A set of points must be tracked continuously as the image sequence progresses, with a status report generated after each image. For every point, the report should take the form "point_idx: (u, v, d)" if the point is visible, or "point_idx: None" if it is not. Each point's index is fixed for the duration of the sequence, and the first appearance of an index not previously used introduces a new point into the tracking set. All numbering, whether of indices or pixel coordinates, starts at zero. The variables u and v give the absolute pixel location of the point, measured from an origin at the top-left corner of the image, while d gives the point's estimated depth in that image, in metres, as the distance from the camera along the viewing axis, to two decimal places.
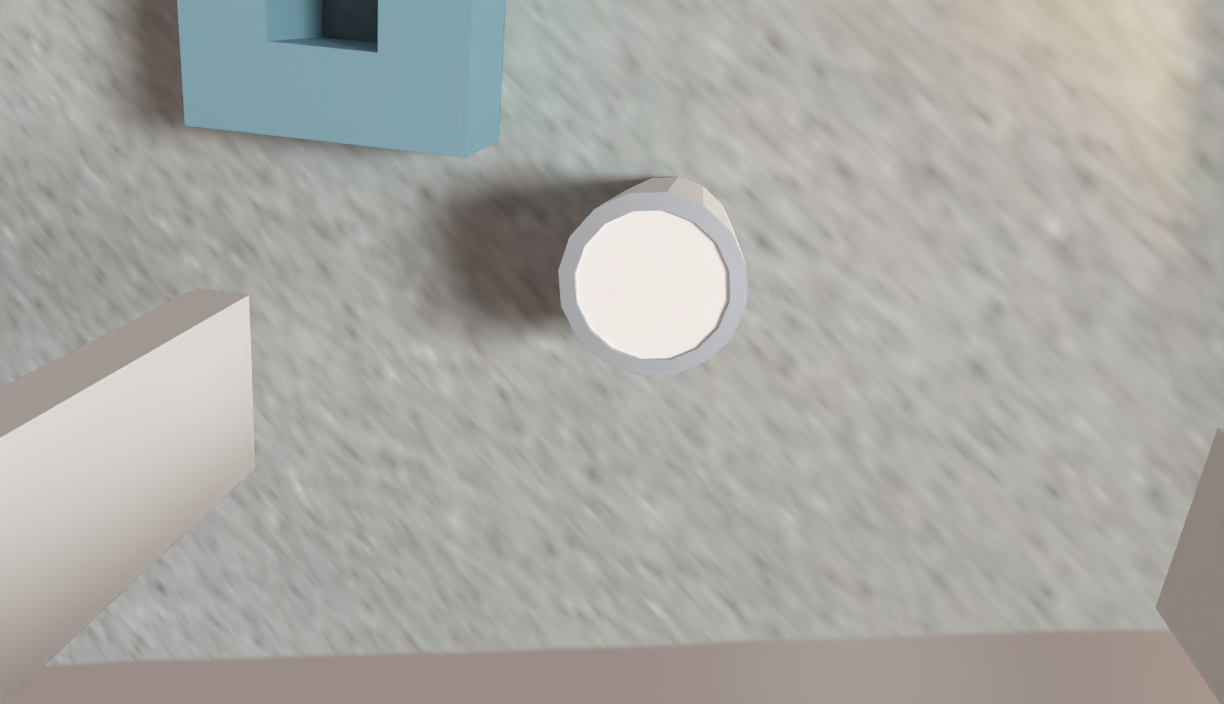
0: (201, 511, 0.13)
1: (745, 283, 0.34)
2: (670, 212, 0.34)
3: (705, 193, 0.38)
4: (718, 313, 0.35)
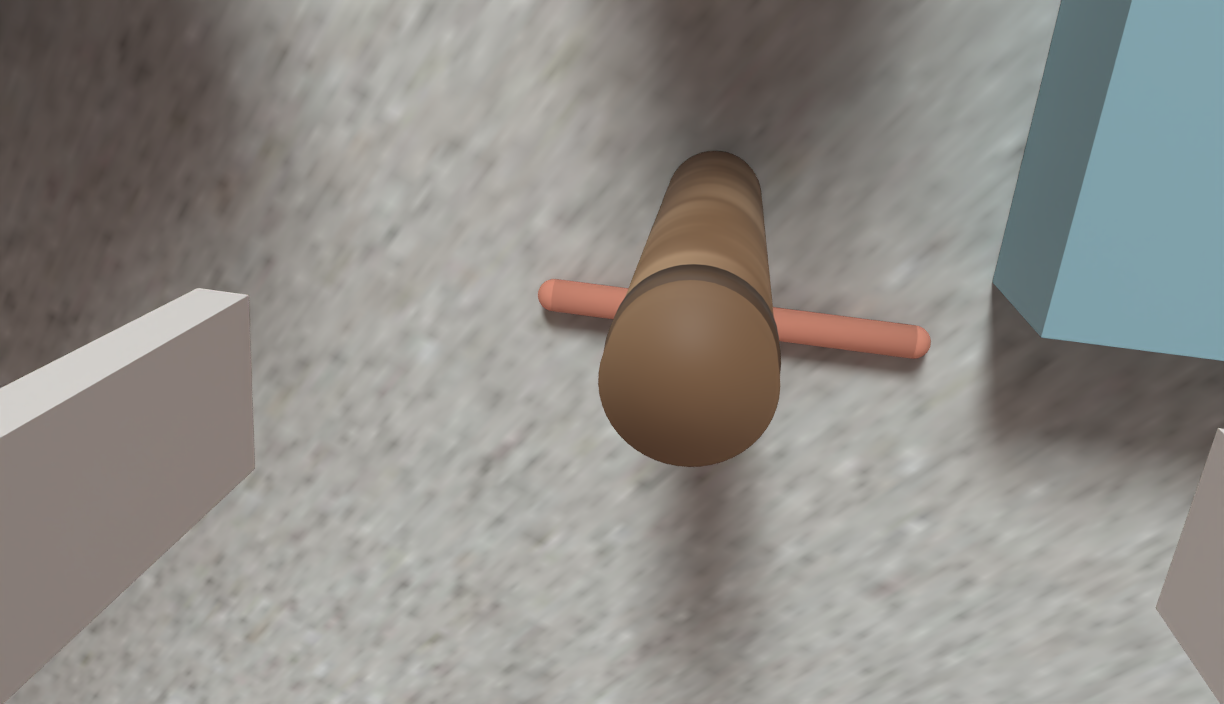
0: (201, 511, 0.13)
1: None
2: None
3: None
4: None
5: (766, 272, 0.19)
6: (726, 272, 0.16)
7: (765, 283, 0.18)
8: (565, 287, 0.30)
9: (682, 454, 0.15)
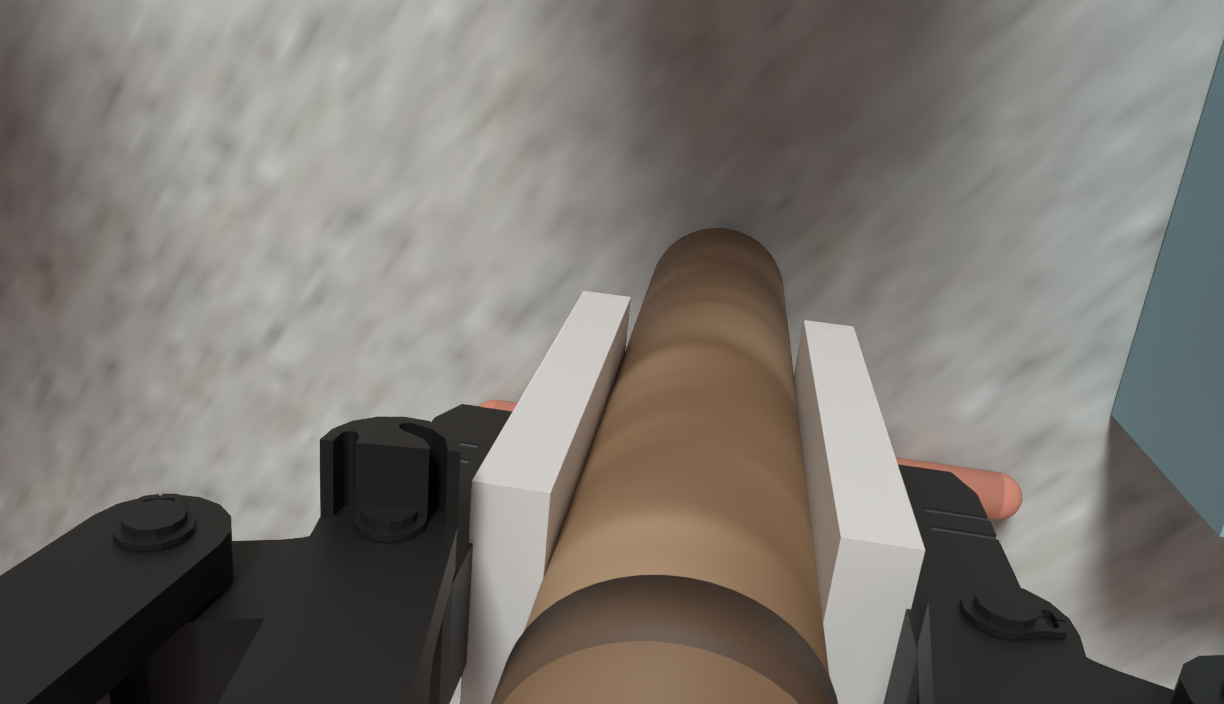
0: None
1: None
2: None
3: None
4: None
5: (805, 510, 0.11)
6: (733, 598, 0.08)
7: (807, 557, 0.09)
8: None
9: None
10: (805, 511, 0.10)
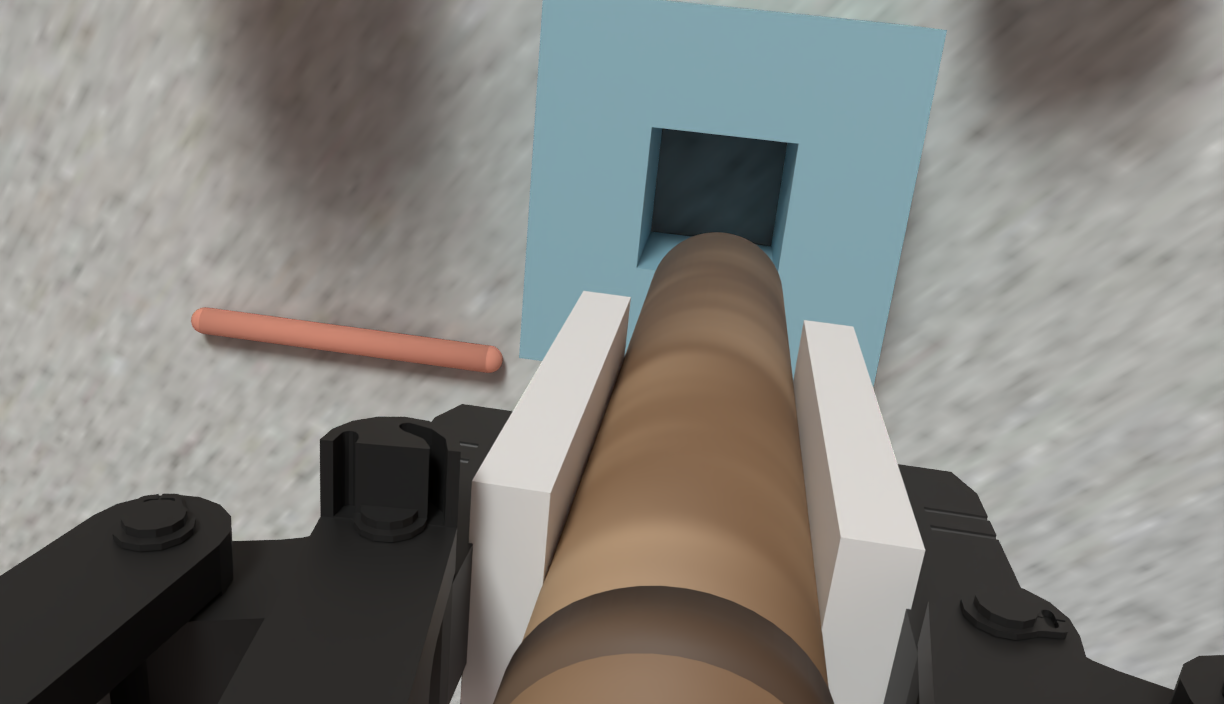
0: None
1: None
2: None
3: None
4: None
5: (804, 517, 0.10)
6: (731, 610, 0.08)
7: (806, 566, 0.09)
8: (210, 314, 0.36)
9: None
10: (804, 519, 0.10)
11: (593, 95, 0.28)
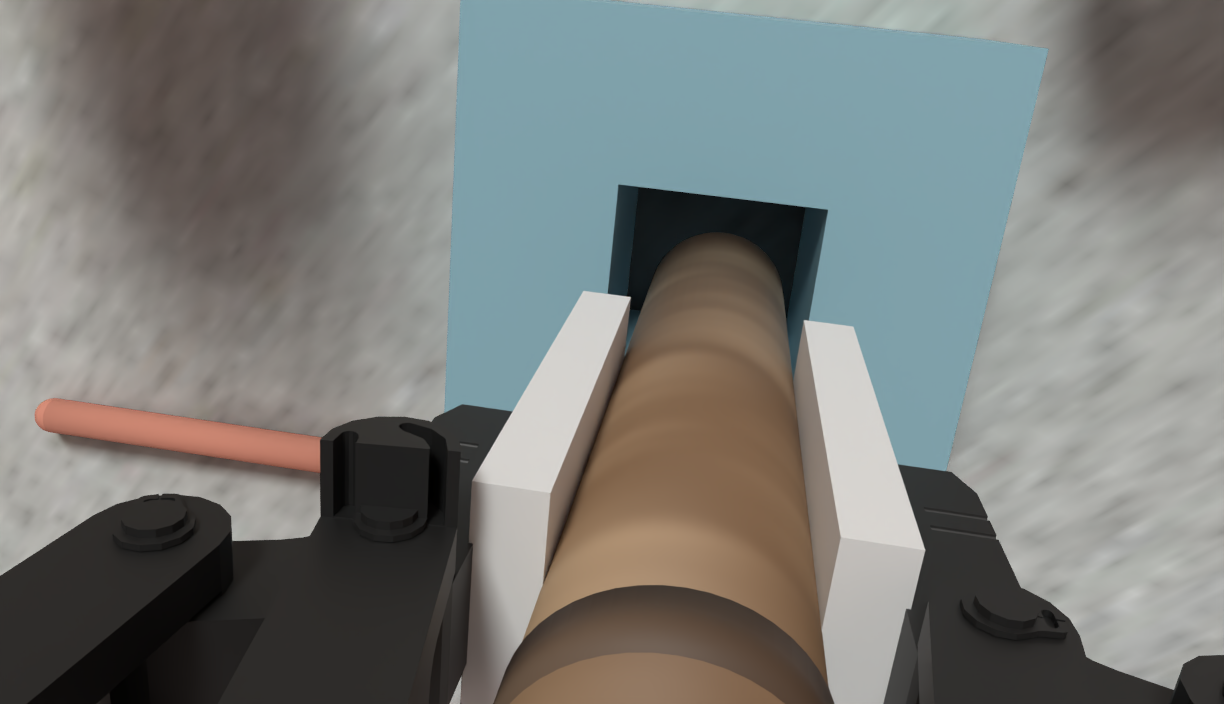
0: None
1: None
2: None
3: None
4: None
5: (804, 517, 0.10)
6: (731, 609, 0.08)
7: (806, 566, 0.09)
8: (58, 408, 0.28)
9: None
10: (804, 518, 0.10)
11: (534, 138, 0.19)
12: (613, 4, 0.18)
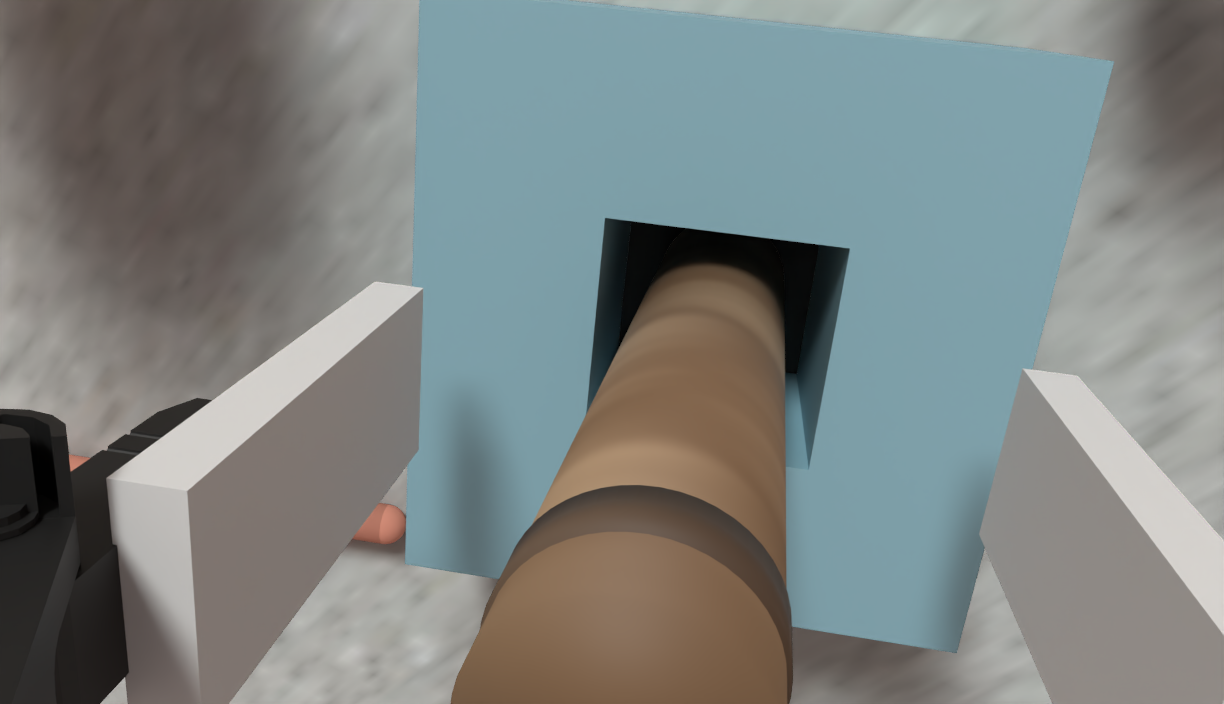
0: (385, 487, 0.14)
1: None
2: None
3: None
4: None
5: (778, 452, 0.12)
6: (698, 504, 0.09)
7: (773, 487, 0.11)
8: None
9: None
10: (778, 453, 0.12)
11: (507, 164, 0.17)
12: (598, 8, 0.16)
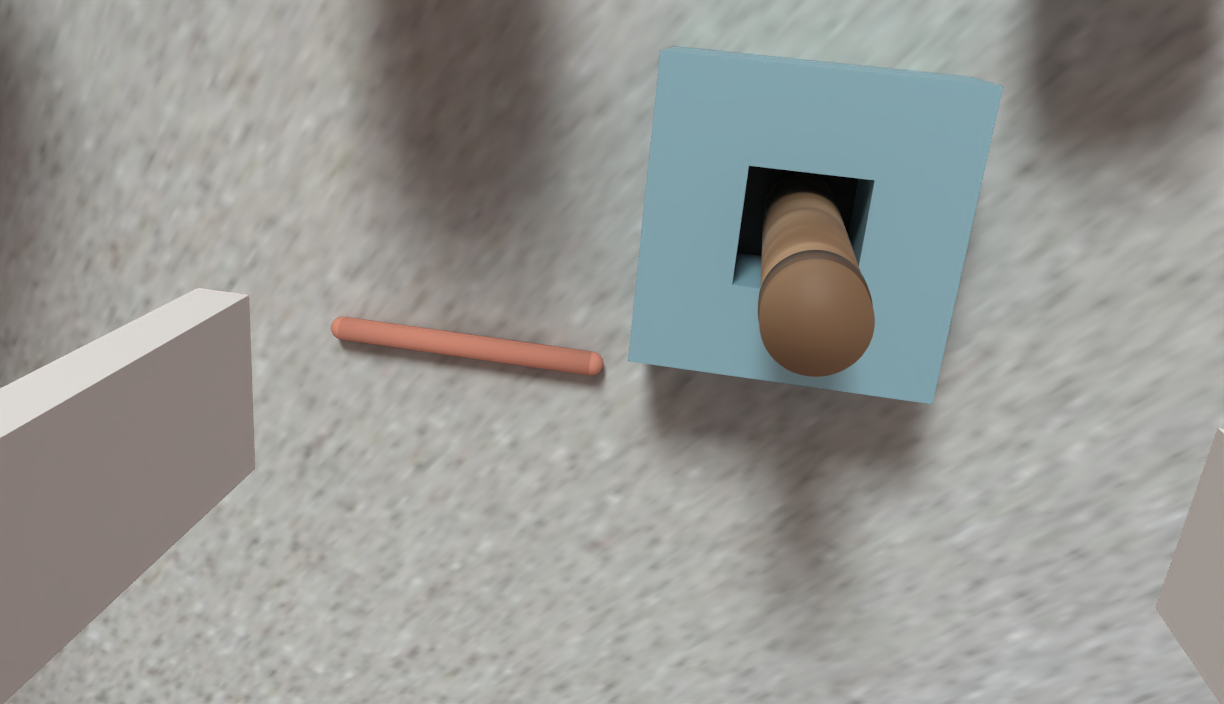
0: (201, 511, 0.13)
1: None
2: None
3: None
4: None
5: (855, 258, 0.28)
6: (837, 255, 0.25)
7: (857, 264, 0.27)
8: (348, 322, 0.42)
9: (810, 368, 0.24)
10: (855, 258, 0.28)
11: (699, 138, 0.33)
12: (750, 60, 0.32)
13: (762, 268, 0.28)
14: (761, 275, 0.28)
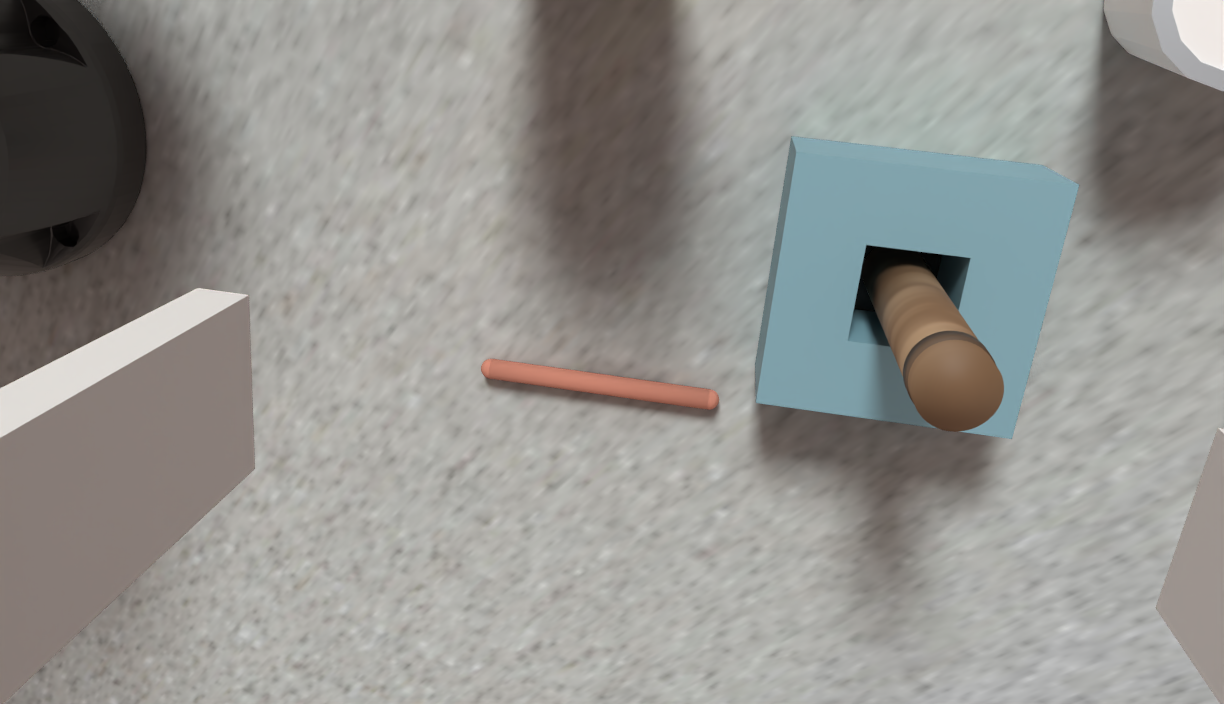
0: (201, 511, 0.13)
1: None
2: None
3: None
4: None
5: None
6: (968, 335, 0.32)
7: None
8: (497, 364, 0.48)
9: (951, 425, 0.31)
10: None
11: (825, 222, 0.40)
12: (871, 161, 0.38)
13: (896, 338, 0.35)
14: (896, 344, 0.35)
